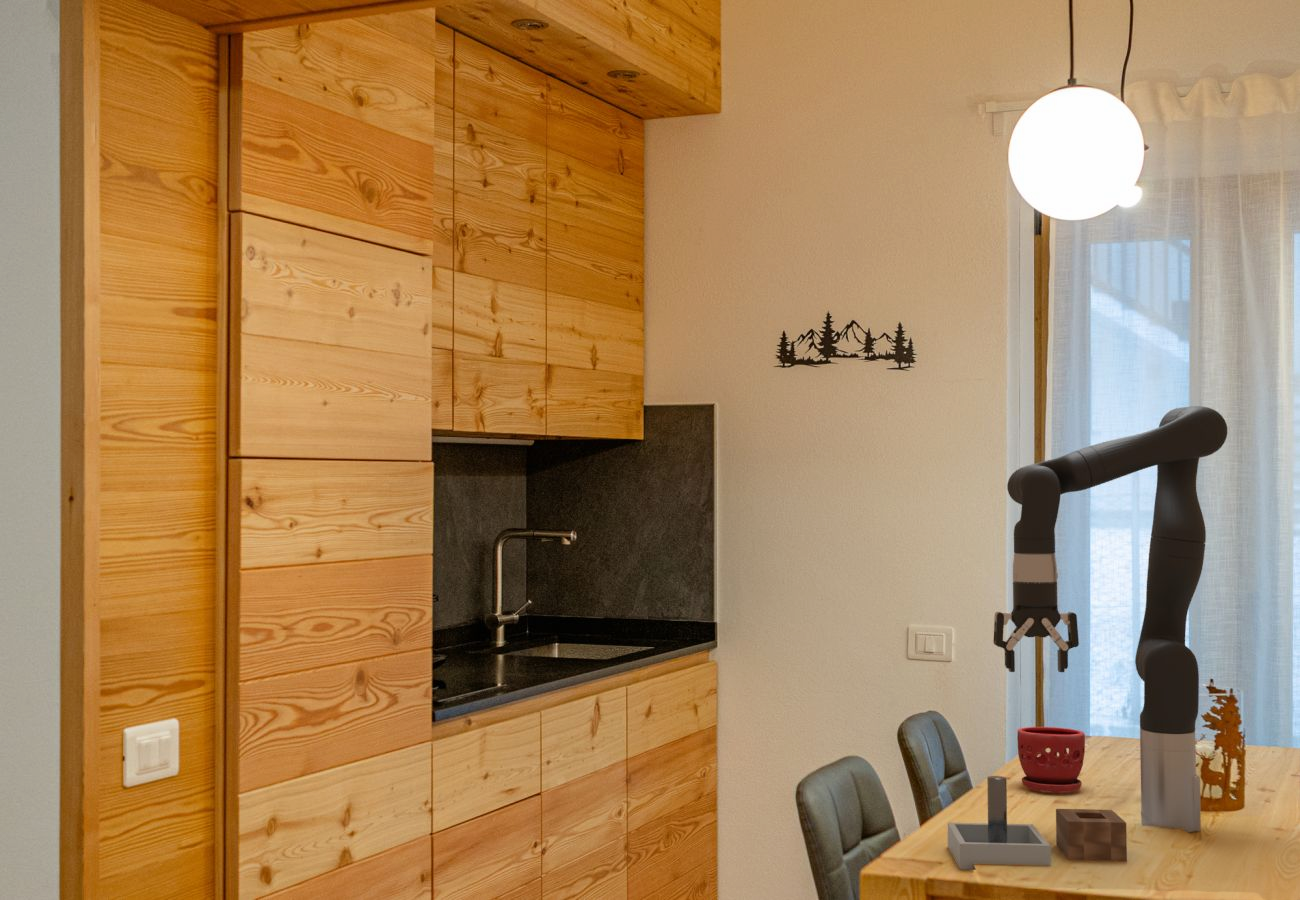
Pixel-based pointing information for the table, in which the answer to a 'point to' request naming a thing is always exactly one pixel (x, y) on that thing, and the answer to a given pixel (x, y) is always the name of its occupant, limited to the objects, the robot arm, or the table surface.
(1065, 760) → the plant pot
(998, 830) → the pin
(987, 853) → the tray
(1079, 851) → the pin block
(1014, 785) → the table surface
